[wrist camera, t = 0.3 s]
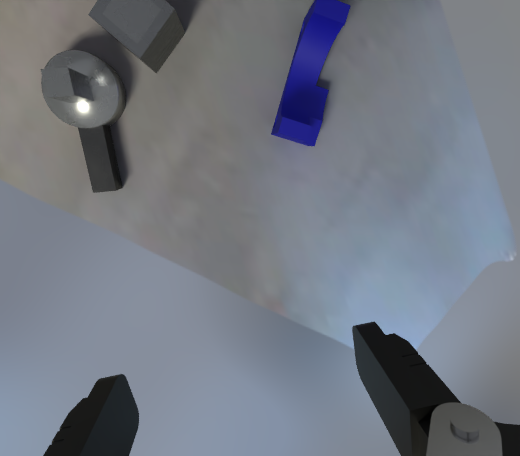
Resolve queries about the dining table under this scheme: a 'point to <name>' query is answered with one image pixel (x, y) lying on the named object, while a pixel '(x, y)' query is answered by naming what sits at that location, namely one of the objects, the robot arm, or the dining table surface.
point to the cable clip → (309, 74)
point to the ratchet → (88, 109)
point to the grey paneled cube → (141, 27)
